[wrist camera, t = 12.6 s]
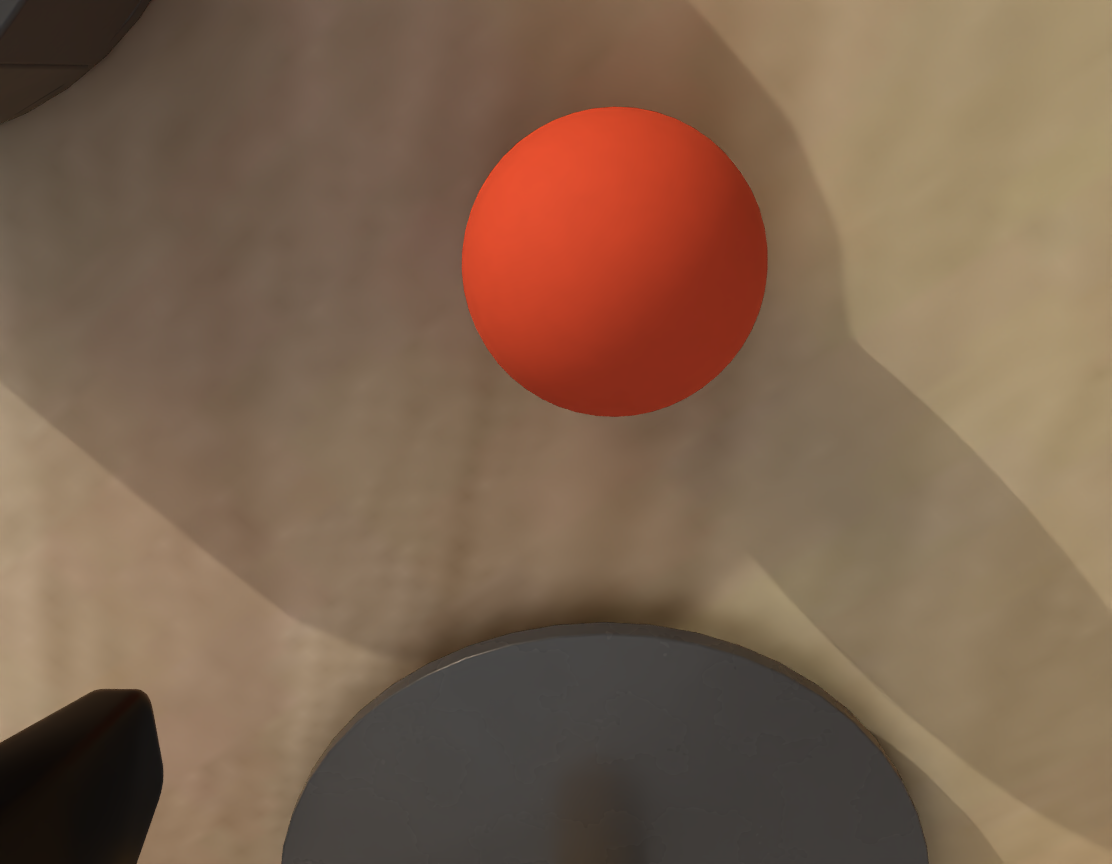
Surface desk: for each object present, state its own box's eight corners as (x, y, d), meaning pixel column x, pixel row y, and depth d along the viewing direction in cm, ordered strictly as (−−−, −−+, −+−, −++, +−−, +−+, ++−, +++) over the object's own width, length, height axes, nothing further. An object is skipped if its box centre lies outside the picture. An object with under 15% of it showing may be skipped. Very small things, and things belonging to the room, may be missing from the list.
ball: (607, 417, 20) (618, 525, 15) (422, 243, 18) (371, 301, 14) (795, 239, 18) (872, 296, 14) (609, 40, 17) (623, 27, 12)
